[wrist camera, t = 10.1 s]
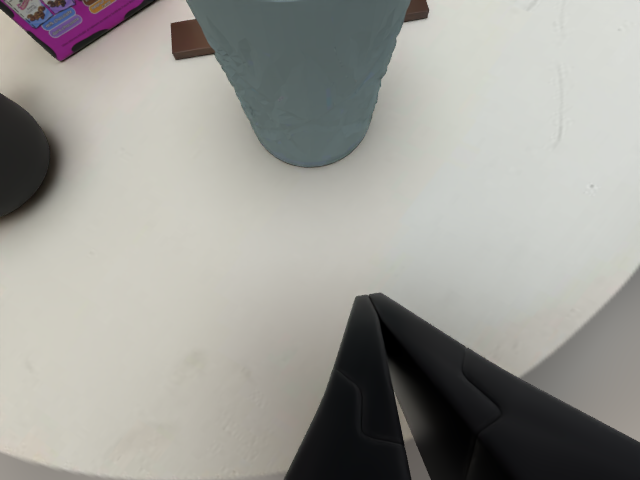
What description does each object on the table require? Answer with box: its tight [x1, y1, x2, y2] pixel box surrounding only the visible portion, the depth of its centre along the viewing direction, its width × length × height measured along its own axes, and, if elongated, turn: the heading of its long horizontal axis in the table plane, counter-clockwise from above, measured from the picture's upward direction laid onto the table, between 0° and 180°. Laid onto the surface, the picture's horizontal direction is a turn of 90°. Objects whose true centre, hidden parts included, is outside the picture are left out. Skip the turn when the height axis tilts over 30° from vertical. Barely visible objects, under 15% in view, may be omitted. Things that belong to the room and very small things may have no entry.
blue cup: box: [186, 0, 411, 167], centre depth 16 cm, size 10×10×12 cm
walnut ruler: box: [171, 0, 429, 59], centre depth 23 cm, size 20×3×1 cm, turn 99°
